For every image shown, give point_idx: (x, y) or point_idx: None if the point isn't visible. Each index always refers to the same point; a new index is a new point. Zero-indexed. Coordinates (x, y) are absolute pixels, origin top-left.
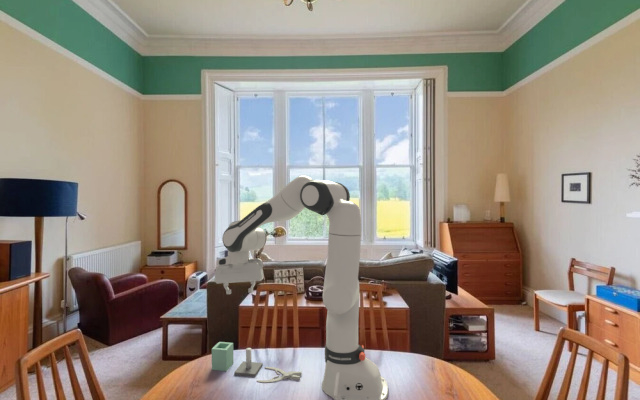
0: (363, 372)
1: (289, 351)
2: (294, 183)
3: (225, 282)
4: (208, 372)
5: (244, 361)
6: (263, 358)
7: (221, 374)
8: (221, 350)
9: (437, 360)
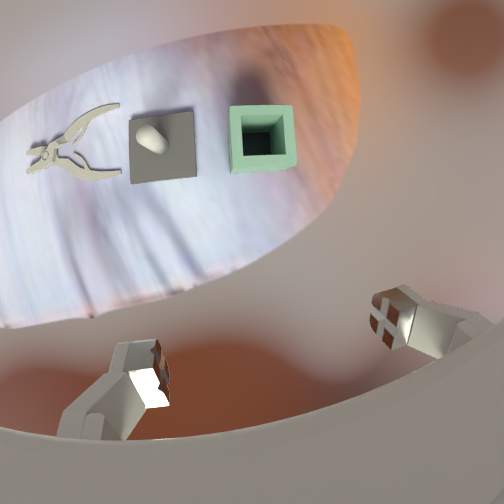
0: None
1: (95, 287)
2: None
3: (493, 327)
4: None
5: (191, 176)
6: (148, 226)
7: None
8: (250, 106)
9: None
